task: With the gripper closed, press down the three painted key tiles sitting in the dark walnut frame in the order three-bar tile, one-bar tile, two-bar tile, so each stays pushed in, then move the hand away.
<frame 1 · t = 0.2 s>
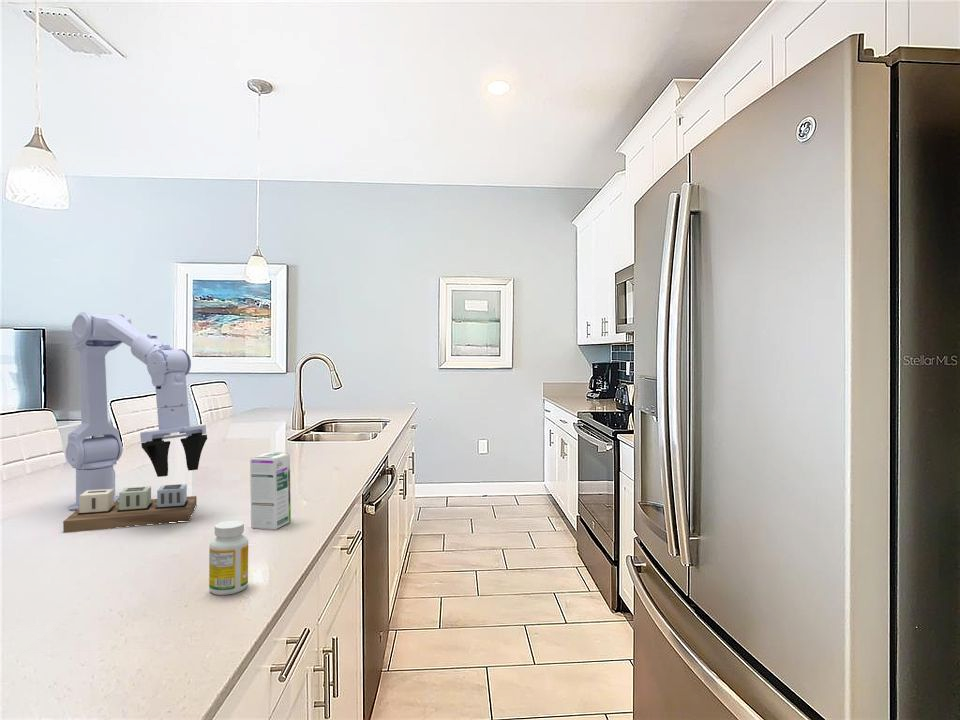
hand: (178, 473, 120), 10 cm above the counter, tool pointing down, fingers open, 7 cm apart
syrup box: (270, 526, 119), on the counter
tile three: (172, 495, 126), point 4 cm above the counter, slide at 0.0 cm
tile two: (135, 497, 124), point 4 cm above the counter, slide at 0.0 cm
supplement bottle: (229, 589, 87), on the counter
tile one: (97, 500, 122), point 4 cm above the counter, slide at 0.0 cm
frame: (135, 517, 124), on the counter
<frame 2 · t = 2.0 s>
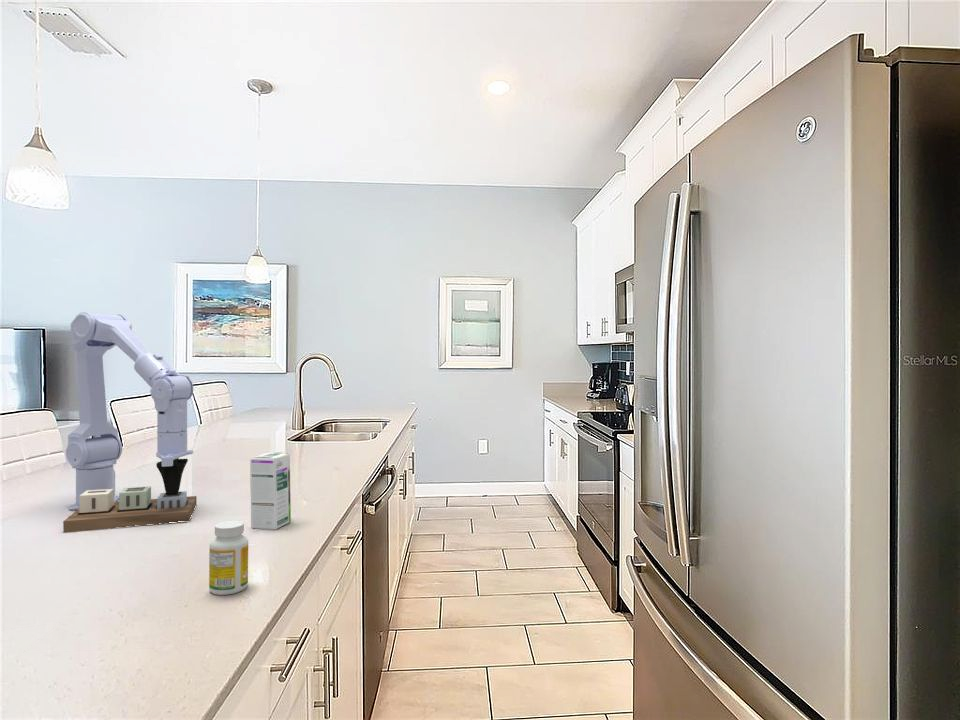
hand: (172, 494, 126), 5 cm above the counter, tool pointing down, fingers closed, pressing on tile three
tile three: (172, 502, 126), point 3 cm above the counter, slide at -1.6 cm, touching gripper
everything else where it was.
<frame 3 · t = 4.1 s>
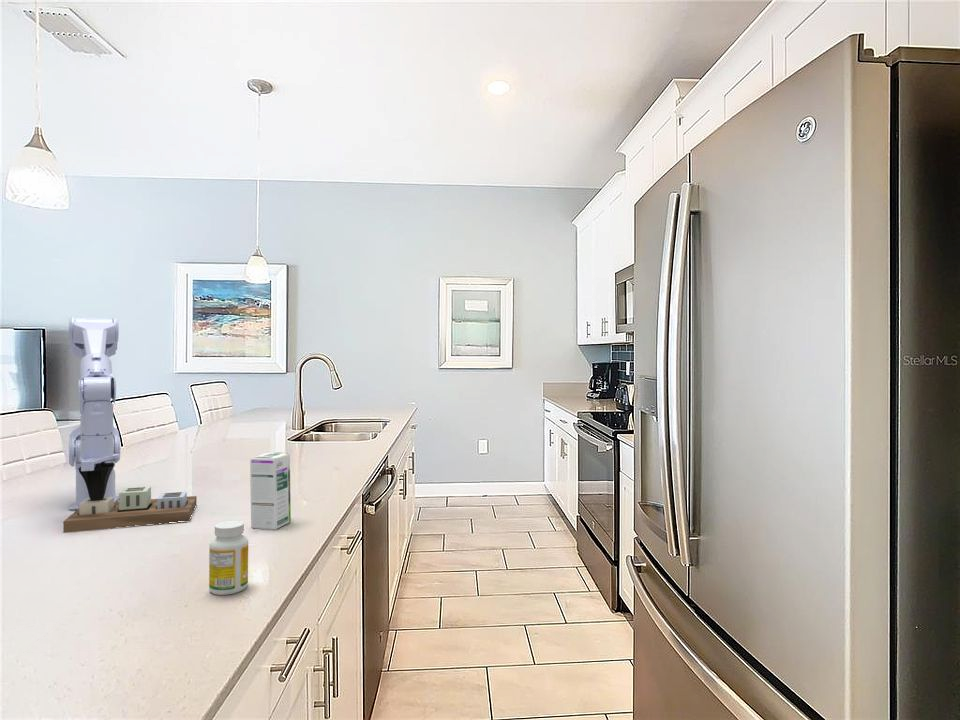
hand: (97, 499, 122), 4 cm above the counter, tool pointing down, fingers closed, pressing on tile one
tile three: (172, 502, 126), point 3 cm above the counter, slide at -1.7 cm
tile one: (97, 508, 122), point 3 cm above the counter, slide at -1.7 cm, touching gripper
everything else where it was.
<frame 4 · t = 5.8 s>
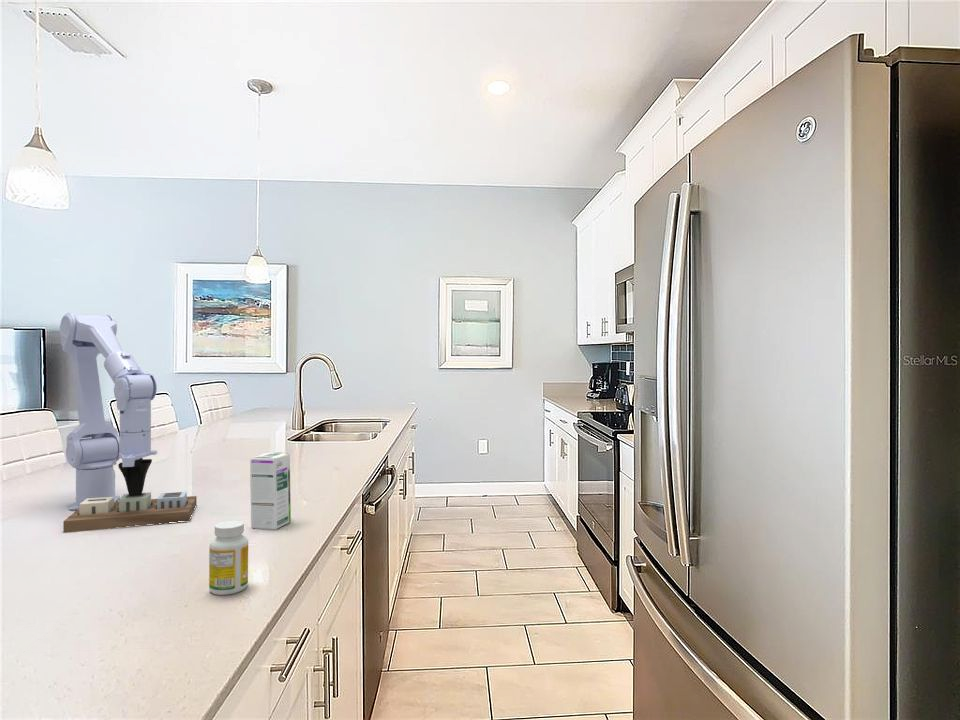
hand: (135, 495, 124), 5 cm above the counter, tool pointing down, fingers closed, pressing on tile two
tile two: (135, 503, 124), point 3 cm above the counter, slide at -1.3 cm, touching gripper
tile one: (97, 508, 122), point 3 cm above the counter, slide at -1.7 cm
everything else where it was.
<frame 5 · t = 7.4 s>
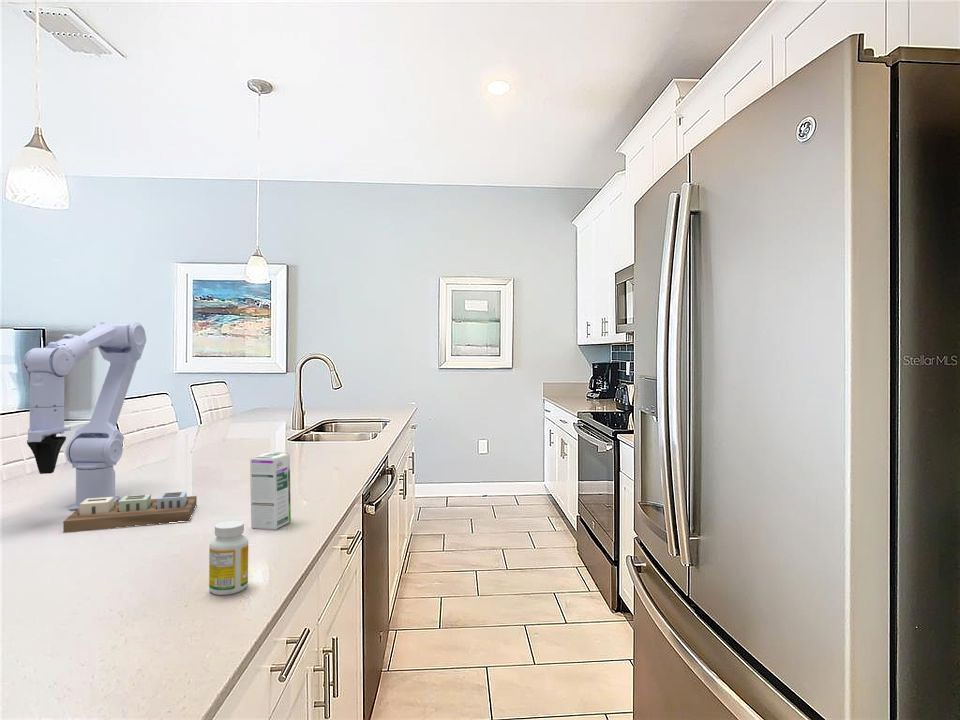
hand: (46, 473, 119), 10 cm above the counter, tool pointing down, fingers closed
tile two: (135, 505, 124), point 3 cm above the counter, slide at -1.7 cm
everything else where it was.
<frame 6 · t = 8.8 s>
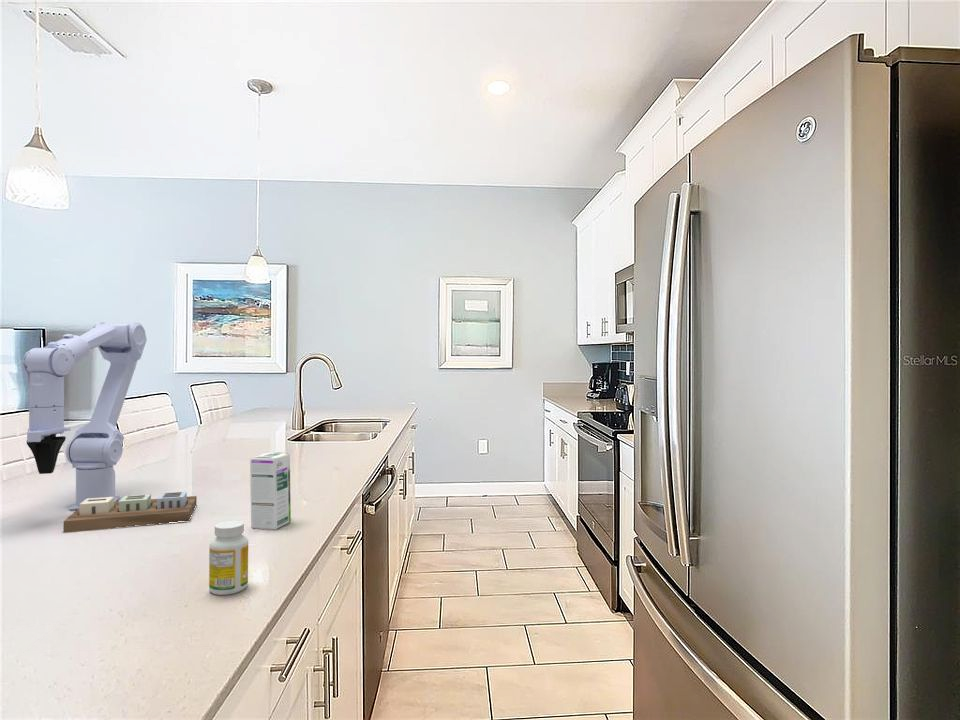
hand: (46, 473, 119), 10 cm above the counter, tool pointing down, fingers closed
nothing on the counter moved.
at the end: tile three slide at -1.7 cm; tile one slide at -1.7 cm; tile two slide at -1.7 cm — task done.
